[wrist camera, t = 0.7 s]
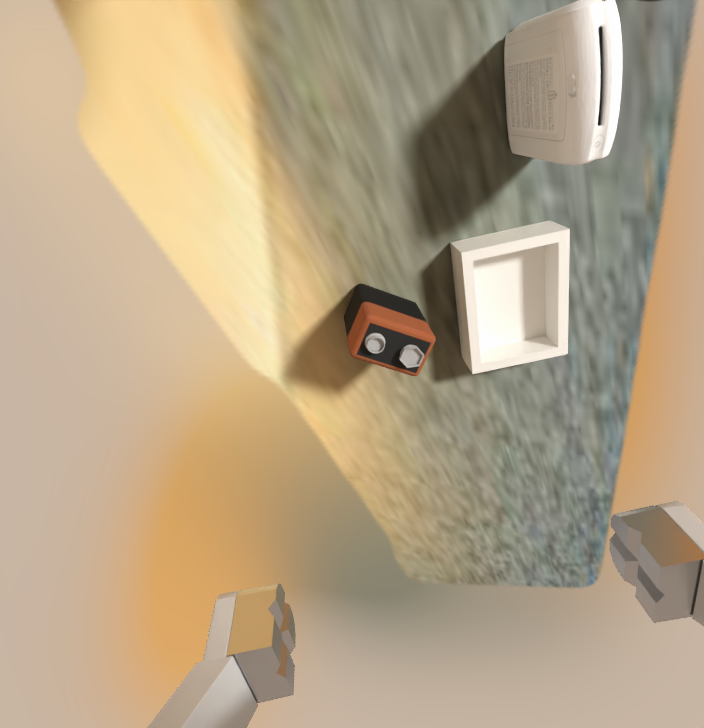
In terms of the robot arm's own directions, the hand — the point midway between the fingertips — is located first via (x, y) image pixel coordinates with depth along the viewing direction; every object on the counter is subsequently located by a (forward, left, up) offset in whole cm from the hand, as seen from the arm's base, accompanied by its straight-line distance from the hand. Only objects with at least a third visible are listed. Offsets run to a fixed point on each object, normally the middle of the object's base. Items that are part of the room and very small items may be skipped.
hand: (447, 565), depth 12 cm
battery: (+9, +2, -39) cm, 40 cm away
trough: (+10, +15, -39) cm, 43 cm away
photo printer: (-8, +18, -39) cm, 43 cm away
